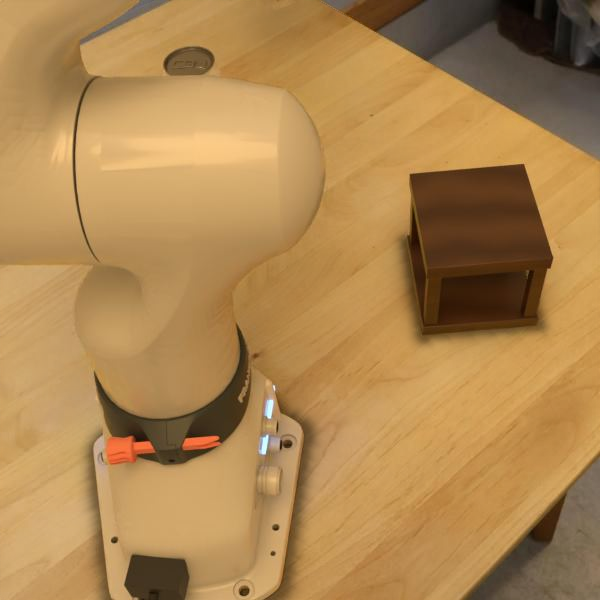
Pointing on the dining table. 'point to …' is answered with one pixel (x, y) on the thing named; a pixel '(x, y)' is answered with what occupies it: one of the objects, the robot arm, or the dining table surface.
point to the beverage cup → (276, 3)
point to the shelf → (476, 249)
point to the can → (191, 62)
